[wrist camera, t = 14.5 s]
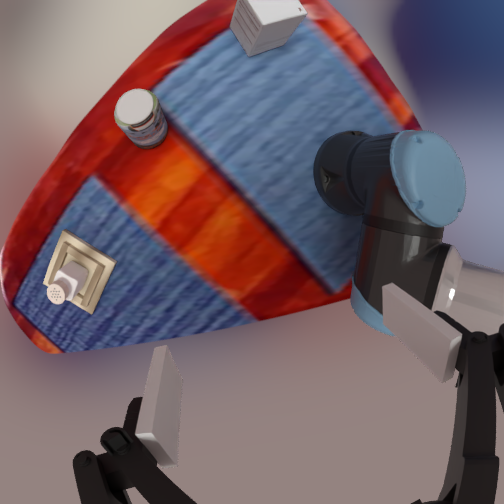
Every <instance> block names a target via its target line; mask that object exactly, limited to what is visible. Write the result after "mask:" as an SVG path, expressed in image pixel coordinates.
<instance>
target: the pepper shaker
mask: <svg viewBox="0 0 504 504" xmlns="http://www.w3.org/2000/svg"><path fill="white" fill-rule="evenodd" d="M87 276H88V270H87V269H86V268H84V267H83V266H81V265H79V264H77V263H76V262H74V261H70V262H69V263H67V264H66V265H65V266H63V267H62V268H61V269H59V270H58V271H57V273H56V276H55V278H54V281H53V282H52V283H51V284H50V285H49V287H48V288H47V295H48V298H49V299H50V300H51V301H52V302H53V303H55V304H61V303H63V302H64V301H65V300H69V301H71V300H72V299H73V298H74V297H75V296H76V295H77V294H78V292H79V291H80V290H81V289H82V288H83V286H84V284H85V281H86V278H87Z"/></svg>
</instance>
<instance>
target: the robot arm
mask: <svg viewBox="0 0 504 504" xmlns="http://www.w3.org/2000/svg"><path fill="white" fill-rule="evenodd" d="M314 180H315V184H316V187H317V190H318V192H319V194H320V196H321V197H322V199H323V200H324V201H325V202H326V203H327V204H328V205H329V206H330V207H331V208H332V209H334V210H336V211H338V212H340V213H344V214H347V215H353V216H359V215H363V222H362V228H361V235H360V241H359V247H358V253H357V259H356V265H355V270H354V273H353V275H352V291H351V305H352V308H353V309H354V312H355V314H356V315H357V316H358V317H359V318H360V319H361V320H362V321H363V322H365V323H366V324H367V325H369V326H370V327H372V328H374V329H375V330H377V331H380V332H382V333H384V334H387V335H391V336H396V337H397V338H398V339H399V340H400V341H401V342H402V343H403V344H404V345H405V346H406V347H407V348H408V349H409V350H410V351H411V352H412V353H413V354H414V355H415V356H416V357H417V358H418V359H419V360H420V361H421V362H422V363H423V364H424V365H425V366H426V367H427V368H428V369H429V370H430V371H431V372H432V374H434V376H436V378H437V379H438V380H439V381H440V382H441V383H444V382H446V381H447V380H449V379H451V378H452V377H453V375H454V371H455V368H456V369H457V370H458V371H459V376H458V379H457V383H456V387H457V386H458V390H457V403H456V415H455V424H454V431H453V438H452V445H451V451H450V457H449V462H448V467H447V472H446V476H445V480H444V485H443V488H442V491H441V493H440V495H439V498H438V500H437V501H429V502H424V503H422V502H421V500H420V499H419V500H417V501H415V502H413V503H411V504H494V501H495V494H496V488H497V480H498V472H499V458H498V457H497V456H495V443H496V442H495V441H496V396H495V395H496V394H495V387H496V390H497V393H498V396H499V399H500V402H501V405H502V408H503V412H504V272H503V271H500V270H496V269H493V268H489V267H486V266H482V265H479V264H475V263H471V262H468V261H465V260H463V259H462V258H461V257H460V255H459V253H458V251H457V249H456V248H455V246H453V245H450V244H446V243H443V242H442V237H443V231H444V226H446V225H449V224H451V223H452V222H453V221H455V219H456V218H457V217H458V212H461V210H462V208H463V205H464V201H465V194H466V182H465V175H464V171H463V167H462V164H461V161H460V159H459V158H458V157H457V155H456V152H455V150H454V149H453V147H452V146H451V145H450V144H449V143H448V141H447V140H445V139H444V138H443V137H441V136H440V135H438V134H436V133H434V132H431V131H415V130H405V131H401V132H398V133H391V134H385V135H380V136H371V135H369V134H366V133H364V132H360V131H345V132H341V133H338V134H335V135H333V136H331V137H330V138H328V139H327V140H326V141H325V142H324V143H323V144H322V146H321V147H320V149H319V151H318V153H317V155H316V158H315V163H314ZM182 385H183V379H182V377H181V375H180V373H179V371H178V369H177V366H176V364H175V362H174V360H173V358H172V356H171V353H170V351H169V349H168V346H167V345H165V346H161V347H156V348H155V349H154V353H153V357H152V361H151V365H150V369H149V373H148V377H147V382H146V386H145V390H144V395H143V397H137V398H133V400H132V401H131V403H130V404H129V406H128V410H127V414H126V417H125V419H126V420H125V421H124V426H123V428H120V427H114V428H110V429H108V430H107V431H105V432H104V433H103V435H102V436H101V440H100V442H101V445H102V446H103V447H104V449H105V450H106V451H107V453H103V454H100V455H95V454H94V453H93V452H91V451H88V450H85V451H81V452H79V453H78V454H77V455H76V456H75V457H74V459H73V469H74V474H75V479H76V483H77V488H78V492H79V496H80V499H81V504H132V503H131V501H130V498H129V496H128V494H127V491H126V489H128V488H132V487H136V489H137V490H138V491H139V492H140V493H141V495H142V496H143V497H144V498H145V499H146V500H147V501H148V502H149V503H150V504H197V503H196V502H194V501H193V500H192V499H191V498H190V497H189V496H188V495H186V494H185V493H184V492H183V491H182V490H181V489H180V488H179V487H178V486H176V485H175V484H174V483H173V482H172V481H171V480H170V479H169V478H168V477H167V476H166V475H165V474H164V473H163V472H162V471H161V470H160V469H159V468H158V467H157V462H158V464H159V465H160V466H161V467H162V468H170V467H177V466H178V444H179V443H178V442H179V427H180V411H181V397H182Z"/></svg>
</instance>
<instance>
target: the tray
mask: <svg viewBox="0 0 504 504" xmlns="http://www.w3.org/2000/svg"><path fill="white" fill-rule="evenodd" d="M70 261H74V262H76V263H77V264H79V265H81V266H83V267H84V268H86V269H87V270H88V276H87V278H86V281H85V284H84V286H83V288H82V289H81V290H80V291H79V292H78V294H77V295H76V296H75V297H74V298H73V299H72V300H71V302H72V303H74V304H75V305H77V306H79V307H80V308H82V309H84V310H85V311H87V312H89V313H90V314H93V312H94V310H95V308H96V305H97V303H98V301H99V299H100V296H101V294H102V292H103V290H104V288H105V285H106V283H107V281H108V279H109V277H110V275H111V273H112V271H113V269H114V266H115V264H116V262H117V261H116V260H114V259H112V258H111V257H109V256H108V255H106V254H104V253H103V252H101V251H99V250H98V249H96V248H95V247H93V246H91V245H90V244H88V243H87V242H85V241H83V240H82V239H80V238H79V237H77V236H76V235H74V234H73V233H71V232H69V231H68V230H66V229H65V230H63V231H62V234H61V236H60V239H59V241H58V243H57V246H56V249H55V251H54V254H53V256H52V259H51V262H50V265H49V267H48V270H47V273H46V276H45V279H44V282H43V284H45V285H46V286H48V287H49V285H50V284H51V283H52V282H53V281H54V278H55V276H56V273H57V271H58V270H59V269H61V268H62V267H63V266H65V265H66V264H67V263H69V262H70Z"/></svg>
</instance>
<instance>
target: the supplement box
mask: <svg viewBox="0 0 504 504" xmlns="http://www.w3.org/2000/svg"><path fill="white" fill-rule="evenodd" d="M307 14H308V13H307V12H306V11H305V9H304V8H303V6H302V5H301V3H300V2H299V1H298V0H237V3H236V6H235V10H234V13H233V17H232V20H231V24H230V28H231V30H232V31H233V33H234V34H235V36H236V38H237V39H238V41H239V43H240V44H241V46H242V47H243V49H244V51H245V52H246V54H247V56H248V57H251V56H253V55H256V54H259V53H262V52H265V51H268V50H271V49H274V48H277V47H280V46H283V45H284V44H285V43H286V41H287V40H288V39H289V37H290V36H291V35H292V33H293V32H294V31H295V29H296V28H297V27H298V25H299V24H300V23H301V22H302V20H303V19H304V18H305V17H306V15H307Z"/></svg>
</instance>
